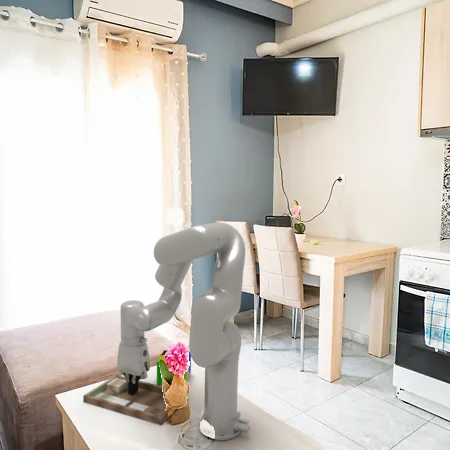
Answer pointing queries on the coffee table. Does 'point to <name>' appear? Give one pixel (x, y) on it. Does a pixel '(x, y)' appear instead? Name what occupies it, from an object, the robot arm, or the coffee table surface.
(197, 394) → the coffee table surface
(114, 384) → the block
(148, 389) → the box
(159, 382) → the puzzle toy
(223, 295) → the robot arm
